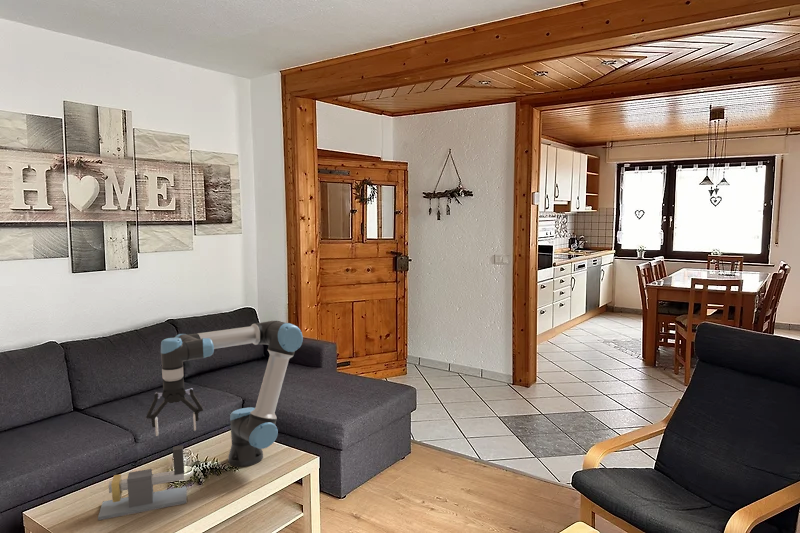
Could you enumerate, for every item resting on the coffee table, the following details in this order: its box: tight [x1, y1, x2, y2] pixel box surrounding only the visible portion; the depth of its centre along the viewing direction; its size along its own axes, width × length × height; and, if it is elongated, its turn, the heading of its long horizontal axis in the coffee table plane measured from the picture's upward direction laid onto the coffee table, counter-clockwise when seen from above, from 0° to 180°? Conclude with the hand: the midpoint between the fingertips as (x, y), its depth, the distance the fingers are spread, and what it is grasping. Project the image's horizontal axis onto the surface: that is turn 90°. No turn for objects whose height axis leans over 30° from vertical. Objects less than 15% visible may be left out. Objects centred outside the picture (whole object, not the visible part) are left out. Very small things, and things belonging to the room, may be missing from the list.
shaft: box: [108, 445, 185, 494], centre depth 209 cm, size 26×4×12 cm, turn 111°
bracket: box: [97, 468, 188, 521], centre depth 209 cm, size 30×12×12 cm, turn 111°
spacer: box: [111, 473, 123, 502], centre depth 206 cm, size 2×7×7 cm, turn 21°
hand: (176, 432), depth 212 cm, fingers open, 13 cm apart
